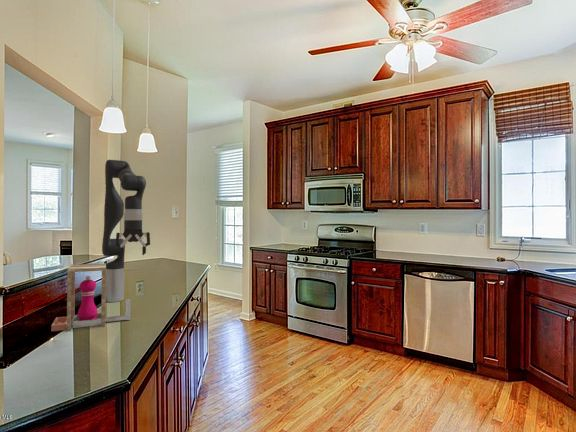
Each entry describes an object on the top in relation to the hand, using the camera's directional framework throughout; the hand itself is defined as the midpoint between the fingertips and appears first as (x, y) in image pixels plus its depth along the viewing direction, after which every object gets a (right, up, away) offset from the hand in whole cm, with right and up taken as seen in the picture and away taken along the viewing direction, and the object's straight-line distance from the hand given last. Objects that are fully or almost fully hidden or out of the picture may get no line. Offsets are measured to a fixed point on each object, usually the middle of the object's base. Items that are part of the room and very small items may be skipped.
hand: (133, 255), depth 161 cm
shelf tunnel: (-14, -28, -11) cm, 33 cm away
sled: (-10, -27, -8) cm, 30 cm away
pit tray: (-23, -28, -15) cm, 39 cm away
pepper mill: (-14, -28, -11) cm, 33 cm away
